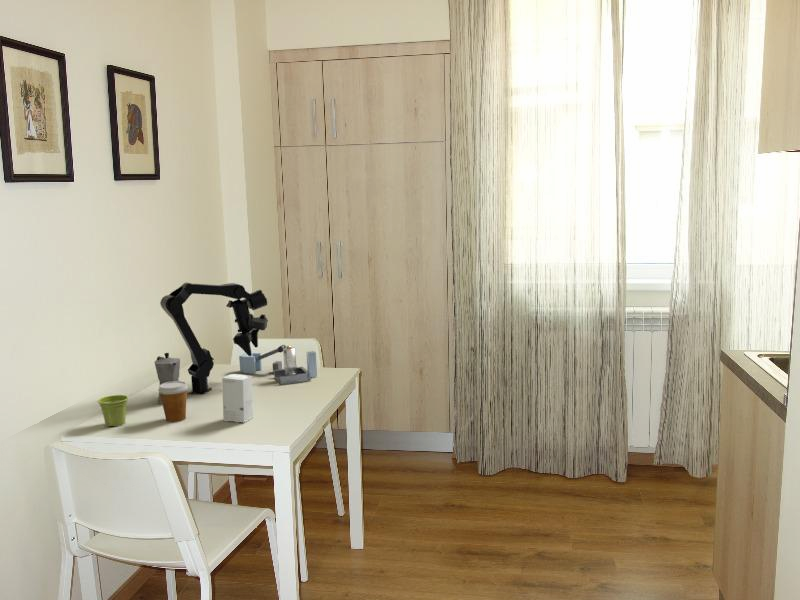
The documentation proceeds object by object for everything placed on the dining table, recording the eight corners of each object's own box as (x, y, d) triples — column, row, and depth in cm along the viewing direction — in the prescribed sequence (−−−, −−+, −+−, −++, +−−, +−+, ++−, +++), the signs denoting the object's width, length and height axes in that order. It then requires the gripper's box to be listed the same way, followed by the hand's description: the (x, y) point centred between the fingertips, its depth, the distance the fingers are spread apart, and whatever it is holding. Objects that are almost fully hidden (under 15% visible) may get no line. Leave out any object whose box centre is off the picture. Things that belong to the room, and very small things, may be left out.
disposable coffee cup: (166, 415, 249) (163, 381, 247) (194, 414, 249) (191, 380, 247) (157, 424, 240) (153, 389, 238) (185, 423, 240) (182, 388, 238)
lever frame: (277, 374, 298) (276, 357, 297) (239, 373, 302) (238, 356, 301) (283, 370, 305) (282, 353, 304) (246, 369, 308) (245, 352, 307)
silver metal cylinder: (298, 378, 288) (296, 346, 286) (286, 380, 287) (284, 348, 285) (295, 376, 293) (293, 344, 291) (284, 377, 291) (281, 345, 289)
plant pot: (121, 417, 248) (118, 393, 247) (136, 422, 242) (133, 397, 241) (95, 425, 241) (92, 400, 240) (110, 430, 235) (107, 404, 234)
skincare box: (223, 421, 240) (219, 377, 238) (233, 416, 246) (230, 373, 243) (245, 423, 237) (242, 379, 235) (255, 417, 243) (252, 374, 240)
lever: (283, 351, 298) (281, 345, 297) (256, 362, 301) (253, 357, 301) (287, 349, 301) (284, 343, 301) (259, 360, 305) (257, 355, 304)
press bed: (281, 385, 282) (279, 359, 280) (274, 377, 293) (272, 353, 292) (320, 379, 288) (318, 354, 286) (312, 372, 299) (310, 348, 298)
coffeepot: (191, 401, 264) (186, 353, 261) (166, 407, 258) (161, 358, 255) (172, 393, 276) (168, 347, 273) (148, 399, 270) (144, 351, 267)
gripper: (255, 318, 273) (266, 356, 278) (268, 303, 291) (278, 339, 296) (227, 323, 275) (239, 361, 279) (241, 308, 293) (252, 344, 297)
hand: (253, 351), depth 288 cm, fingers open, 9 cm apart
